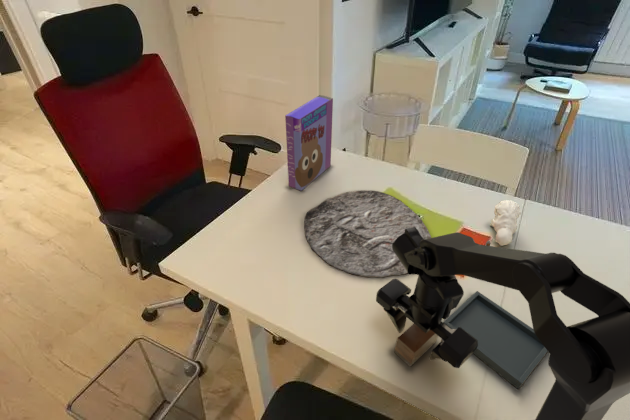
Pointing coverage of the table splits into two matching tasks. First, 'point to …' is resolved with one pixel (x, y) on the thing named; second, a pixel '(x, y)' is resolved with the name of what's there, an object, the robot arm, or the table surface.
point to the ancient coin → (361, 232)
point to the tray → (499, 338)
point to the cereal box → (309, 141)
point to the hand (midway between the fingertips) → (415, 344)
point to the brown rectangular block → (414, 344)
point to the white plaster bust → (505, 221)
